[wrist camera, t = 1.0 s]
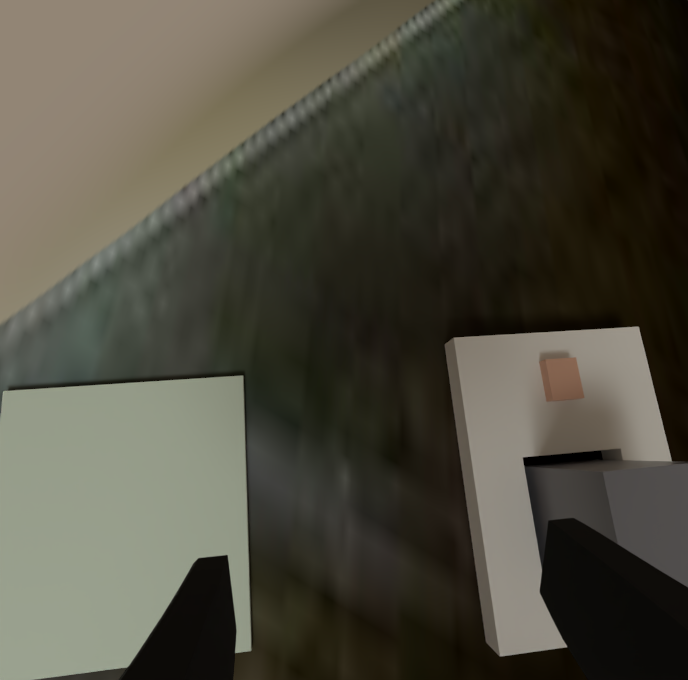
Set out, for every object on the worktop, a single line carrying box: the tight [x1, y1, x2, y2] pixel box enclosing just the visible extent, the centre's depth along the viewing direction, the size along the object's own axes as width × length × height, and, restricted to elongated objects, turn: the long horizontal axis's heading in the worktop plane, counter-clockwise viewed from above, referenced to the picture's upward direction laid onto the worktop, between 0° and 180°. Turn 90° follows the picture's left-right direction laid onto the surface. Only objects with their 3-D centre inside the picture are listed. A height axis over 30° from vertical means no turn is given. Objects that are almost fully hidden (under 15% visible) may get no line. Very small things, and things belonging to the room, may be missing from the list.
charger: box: [524, 460, 688, 587], centre depth 19 cm, size 5×4×6 cm
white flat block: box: [445, 327, 672, 656], centre depth 22 cm, size 14×10×2 cm
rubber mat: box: [0, 376, 252, 680], centre depth 20 cm, size 12×11×1 cm
